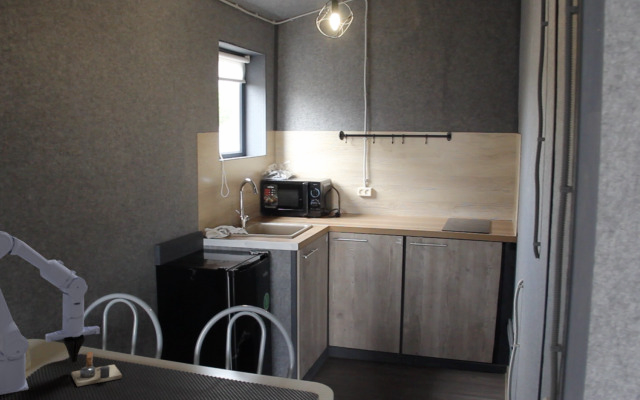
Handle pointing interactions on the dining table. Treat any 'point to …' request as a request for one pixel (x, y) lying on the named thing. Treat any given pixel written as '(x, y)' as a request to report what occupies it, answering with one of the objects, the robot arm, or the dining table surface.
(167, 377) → the dining table surface
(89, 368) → the crank
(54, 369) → the dining table surface
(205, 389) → the dining table surface
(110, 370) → the board
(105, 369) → the post
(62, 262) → the robot arm
